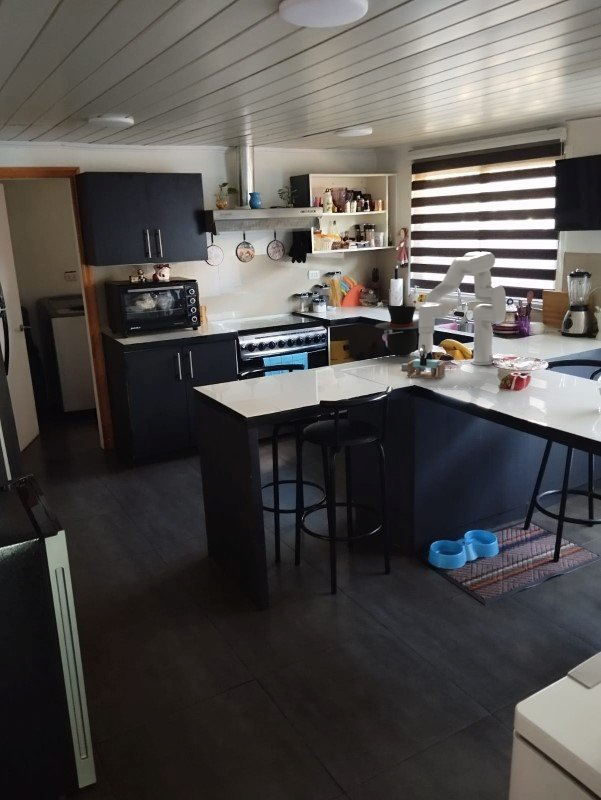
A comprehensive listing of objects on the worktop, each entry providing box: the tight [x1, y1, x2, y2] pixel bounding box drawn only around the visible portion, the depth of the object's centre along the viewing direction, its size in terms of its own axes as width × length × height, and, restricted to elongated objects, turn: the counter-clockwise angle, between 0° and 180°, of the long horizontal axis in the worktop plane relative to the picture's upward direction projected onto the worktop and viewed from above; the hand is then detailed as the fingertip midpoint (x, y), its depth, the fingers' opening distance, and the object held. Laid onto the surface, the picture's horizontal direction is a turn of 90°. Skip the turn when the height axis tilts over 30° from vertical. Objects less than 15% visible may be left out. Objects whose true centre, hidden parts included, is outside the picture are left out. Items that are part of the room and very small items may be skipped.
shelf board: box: [413, 358, 441, 369], centre depth 312 cm, size 12×6×3 cm, turn 63°
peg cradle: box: [406, 359, 446, 380], centre depth 313 cm, size 17×9×7 cm, turn 63°
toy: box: [374, 305, 419, 357], centre depth 362 cm, size 31×31×30 cm
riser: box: [401, 363, 426, 372], centre depth 327 cm, size 12×3×3 cm, turn 63°
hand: (426, 363), depth 312 cm, fingers open, 9 cm apart
